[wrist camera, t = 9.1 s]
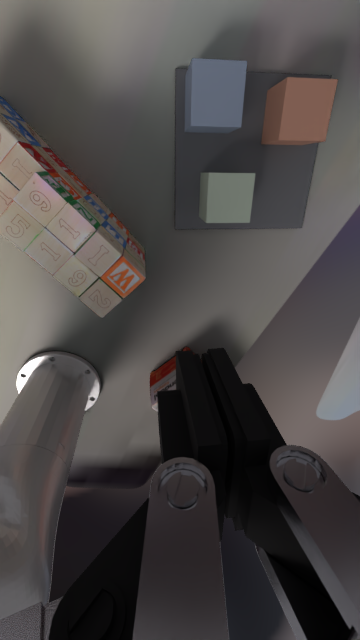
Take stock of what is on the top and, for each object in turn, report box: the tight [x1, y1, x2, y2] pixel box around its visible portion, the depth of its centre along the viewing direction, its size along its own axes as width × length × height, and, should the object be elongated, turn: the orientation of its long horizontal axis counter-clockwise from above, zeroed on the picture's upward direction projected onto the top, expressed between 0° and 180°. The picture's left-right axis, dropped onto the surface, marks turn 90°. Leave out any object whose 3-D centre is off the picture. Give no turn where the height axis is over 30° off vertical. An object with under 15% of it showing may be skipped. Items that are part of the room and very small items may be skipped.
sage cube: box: [199, 173, 255, 223], centre depth 33 cm, size 5×5×5 cm
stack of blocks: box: [0, 96, 146, 318], centre depth 29 cm, size 21×6×12 cm, turn 41°
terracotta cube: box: [261, 77, 338, 145], centre depth 30 cm, size 5×5×5 cm
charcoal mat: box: [175, 68, 331, 229], centre depth 34 cm, size 16×17×1 cm
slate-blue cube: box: [185, 58, 247, 133], centre depth 29 cm, size 5×5×5 cm
